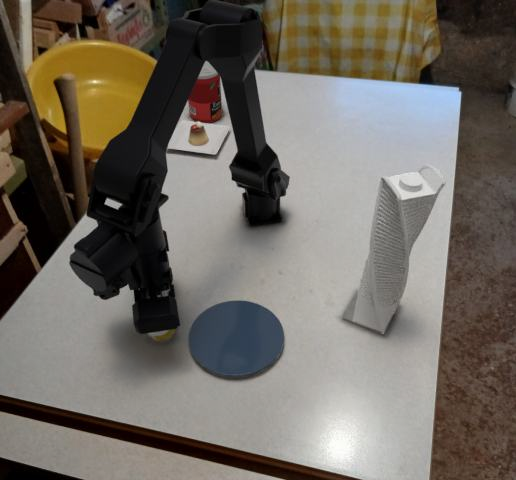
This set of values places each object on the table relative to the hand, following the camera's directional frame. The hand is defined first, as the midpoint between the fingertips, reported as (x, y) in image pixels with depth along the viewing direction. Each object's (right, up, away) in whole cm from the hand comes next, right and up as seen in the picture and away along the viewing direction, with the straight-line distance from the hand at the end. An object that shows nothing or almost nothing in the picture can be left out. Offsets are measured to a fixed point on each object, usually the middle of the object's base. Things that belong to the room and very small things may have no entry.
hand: (160, 313), depth 82 cm
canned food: (+3, +51, +41) cm, 65 cm away
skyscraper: (+35, -1, +2) cm, 35 cm away
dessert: (+2, +41, +34) cm, 54 cm away
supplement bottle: (0, -2, -1) cm, 2 cm away
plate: (+12, -4, -1) cm, 13 cm away
